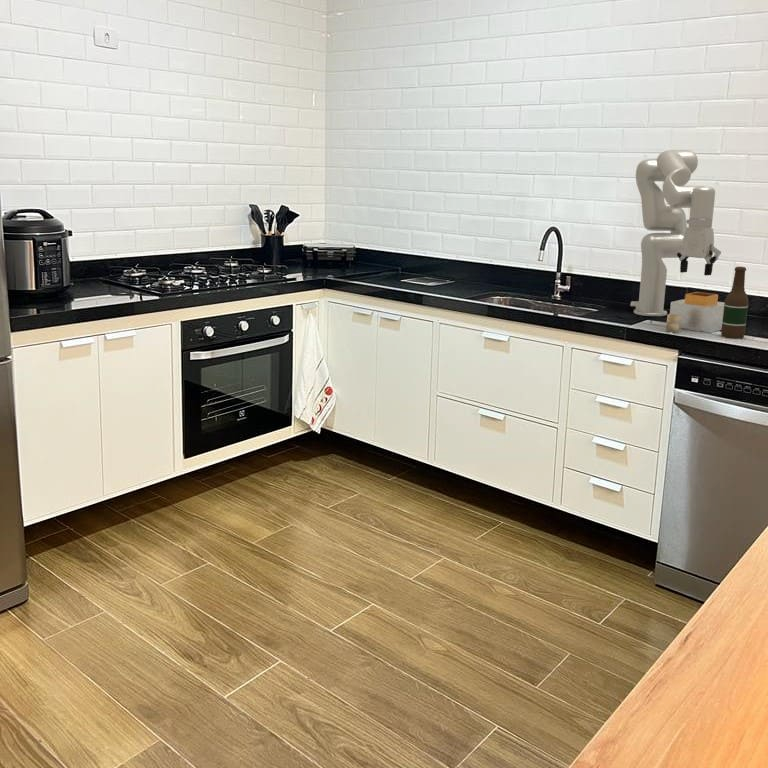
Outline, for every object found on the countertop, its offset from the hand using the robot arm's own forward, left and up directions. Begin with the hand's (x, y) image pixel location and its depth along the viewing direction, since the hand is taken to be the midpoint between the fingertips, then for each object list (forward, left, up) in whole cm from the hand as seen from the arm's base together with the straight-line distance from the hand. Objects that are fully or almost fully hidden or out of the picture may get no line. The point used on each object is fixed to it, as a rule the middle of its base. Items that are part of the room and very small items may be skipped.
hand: (695, 273), depth 292 cm
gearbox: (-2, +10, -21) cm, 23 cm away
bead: (-4, -5, -21) cm, 21 cm away
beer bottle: (+14, +4, -21) cm, 25 cm away
